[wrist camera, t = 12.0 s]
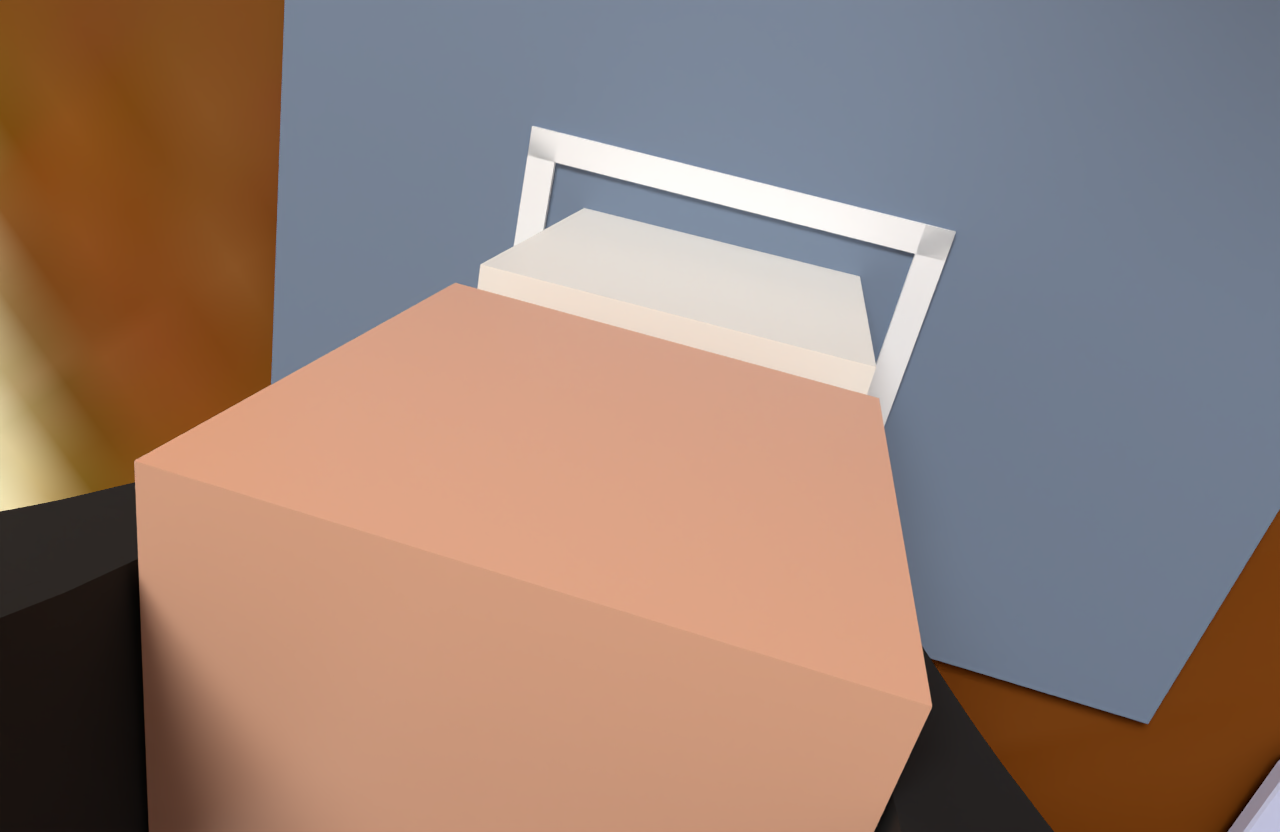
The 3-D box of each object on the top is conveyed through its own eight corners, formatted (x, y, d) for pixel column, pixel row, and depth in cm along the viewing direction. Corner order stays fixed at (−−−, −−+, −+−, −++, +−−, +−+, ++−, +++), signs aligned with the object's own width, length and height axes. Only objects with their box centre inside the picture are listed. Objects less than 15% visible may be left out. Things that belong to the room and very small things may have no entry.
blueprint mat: (1142, 713, 17) (1149, 727, 16) (276, 453, 19) (265, 460, 18) (1788, -357, 10) (1826, -373, 10) (318, -597, 12) (302, -618, 12)
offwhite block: (782, 520, 17) (766, 688, 12) (541, 452, 17) (439, 588, 12) (859, 276, 15) (876, 367, 10) (584, 207, 15) (480, 264, 10)
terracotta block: (758, 732, 11) (714, 1173, 7) (411, 622, 12) (152, 964, 7) (879, 397, 9) (933, 705, 5) (455, 282, 10) (133, 461, 5)
